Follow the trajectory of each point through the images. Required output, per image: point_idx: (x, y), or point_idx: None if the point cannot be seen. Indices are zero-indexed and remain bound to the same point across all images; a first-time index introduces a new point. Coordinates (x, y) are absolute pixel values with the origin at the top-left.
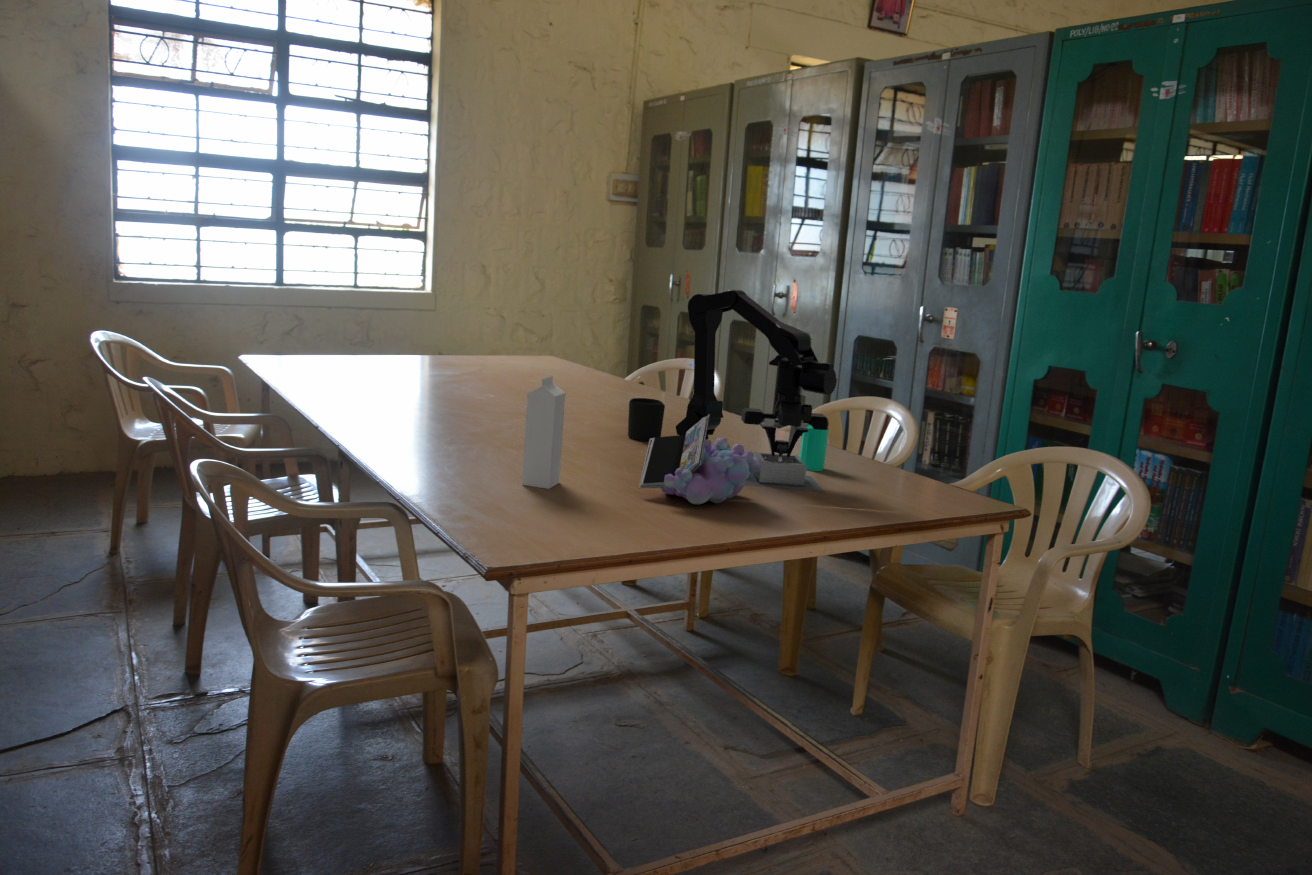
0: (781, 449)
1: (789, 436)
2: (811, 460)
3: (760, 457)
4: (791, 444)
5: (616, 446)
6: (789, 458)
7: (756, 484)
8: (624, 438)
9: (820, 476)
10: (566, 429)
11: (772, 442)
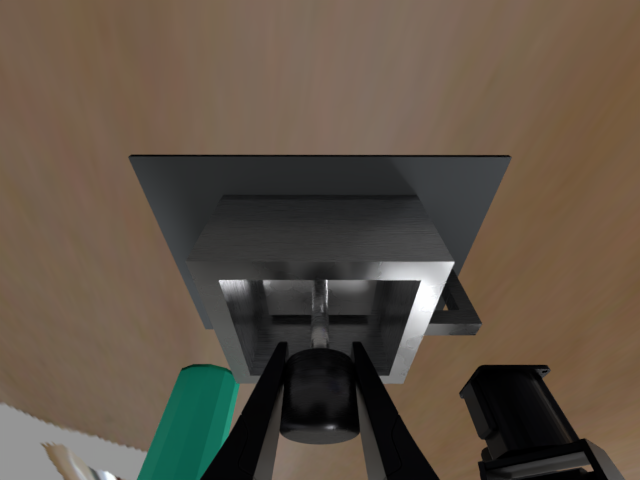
0: (326, 371)
1: (271, 475)
2: (201, 395)
3: (415, 331)
4: (265, 410)
5: (616, 415)
6: None
7: (434, 181)
8: None
9: (179, 337)
10: (625, 456)
11: (386, 414)
